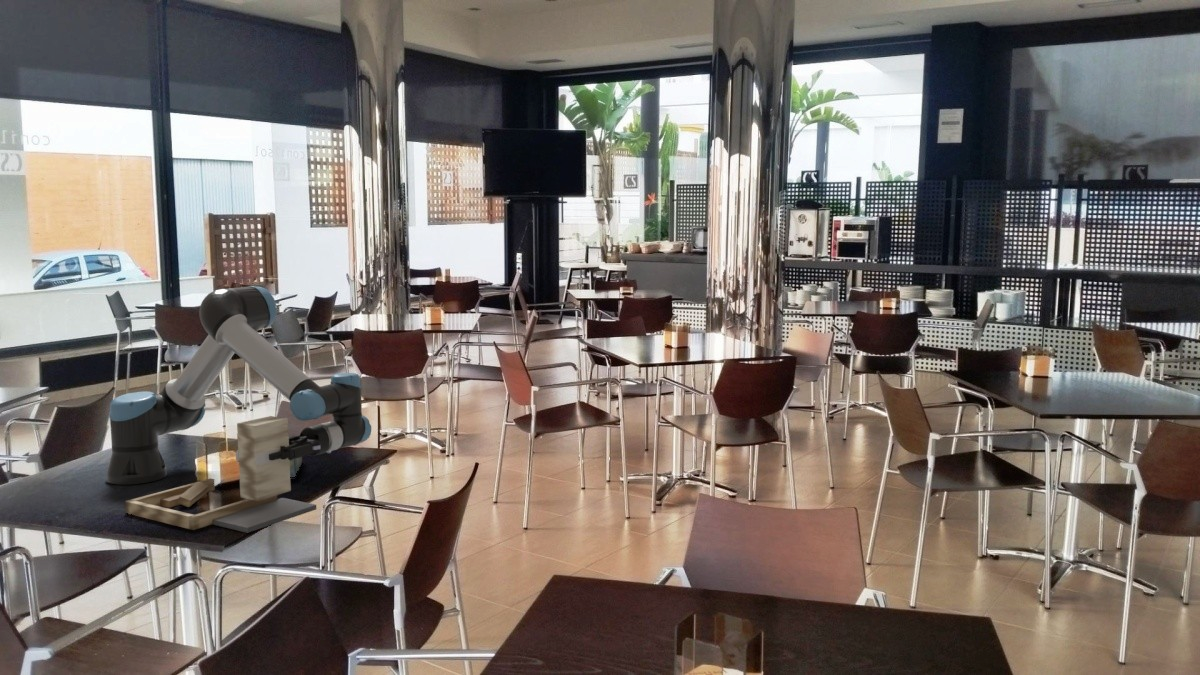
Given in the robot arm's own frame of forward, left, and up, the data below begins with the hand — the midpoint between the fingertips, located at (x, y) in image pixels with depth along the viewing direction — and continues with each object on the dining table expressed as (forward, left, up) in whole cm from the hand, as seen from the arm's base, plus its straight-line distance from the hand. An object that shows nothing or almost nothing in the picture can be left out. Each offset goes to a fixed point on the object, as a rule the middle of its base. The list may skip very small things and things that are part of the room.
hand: (246, 458), depth 223 cm
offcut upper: (-26, +4, -14) cm, 30 cm away
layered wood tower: (0, +5, -10) cm, 11 cm away
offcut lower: (-29, +3, -16) cm, 33 cm away
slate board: (0, +5, -16) cm, 17 cm away
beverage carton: (-30, +38, -16) cm, 51 cm away
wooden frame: (-19, +2, -16) cm, 25 cm away
